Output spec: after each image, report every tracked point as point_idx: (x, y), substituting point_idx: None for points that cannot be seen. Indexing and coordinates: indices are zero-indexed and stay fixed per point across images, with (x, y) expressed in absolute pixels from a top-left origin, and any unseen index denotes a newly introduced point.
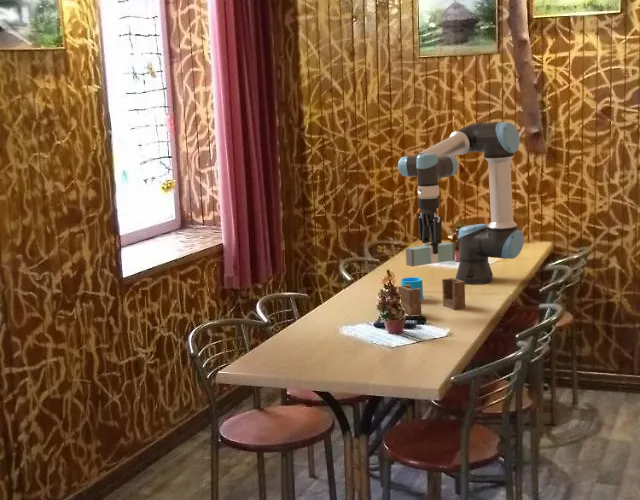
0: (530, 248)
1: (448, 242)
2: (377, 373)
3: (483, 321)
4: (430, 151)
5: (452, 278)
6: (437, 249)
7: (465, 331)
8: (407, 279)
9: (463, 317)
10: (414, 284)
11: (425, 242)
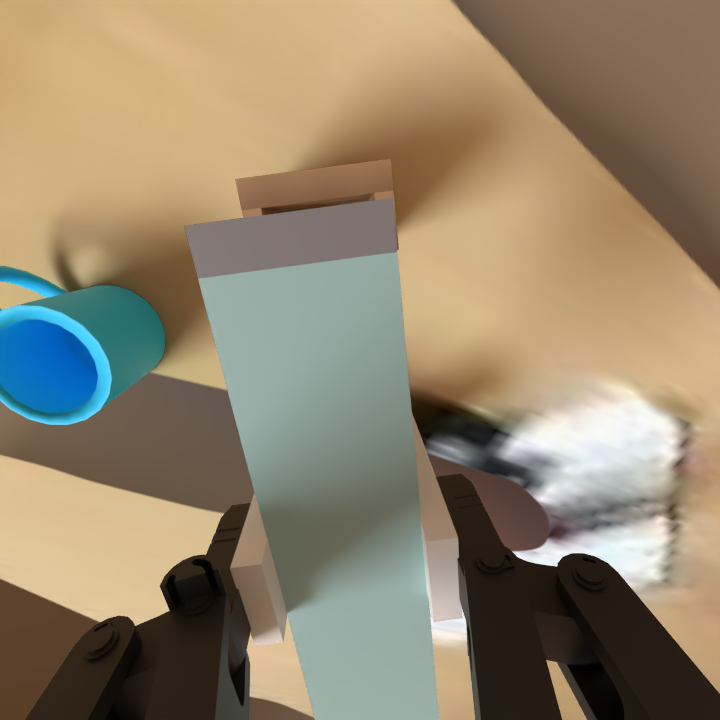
0: None
1: (197, 237)
2: None
3: (622, 219)
4: None
5: (257, 191)
6: (482, 510)
7: (687, 348)
8: (1, 371)
9: (514, 265)
10: (120, 369)
11: (245, 627)
